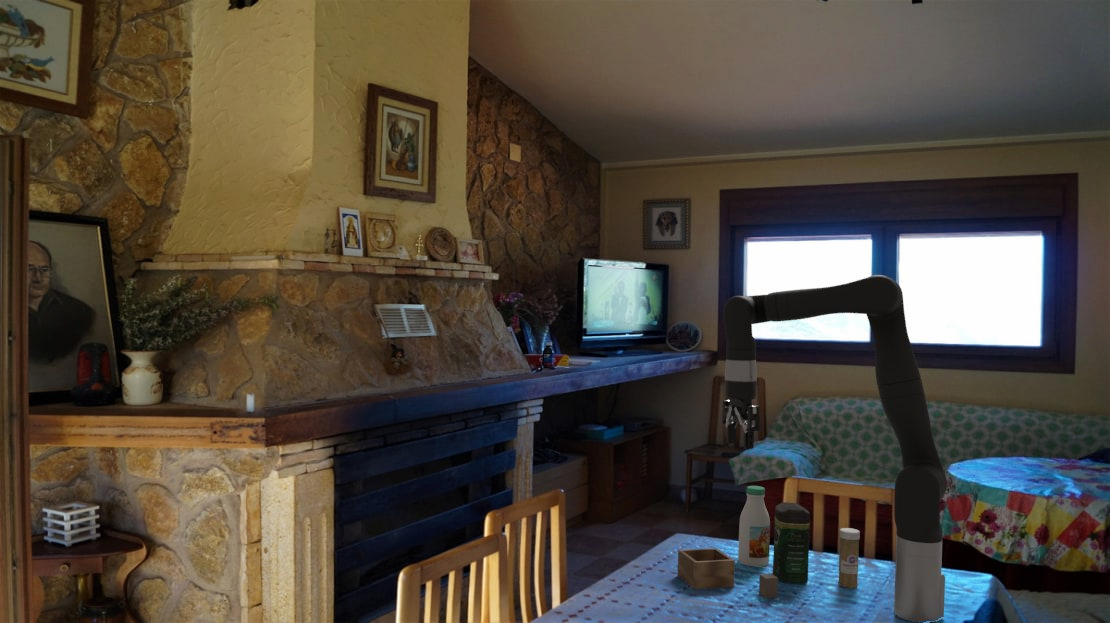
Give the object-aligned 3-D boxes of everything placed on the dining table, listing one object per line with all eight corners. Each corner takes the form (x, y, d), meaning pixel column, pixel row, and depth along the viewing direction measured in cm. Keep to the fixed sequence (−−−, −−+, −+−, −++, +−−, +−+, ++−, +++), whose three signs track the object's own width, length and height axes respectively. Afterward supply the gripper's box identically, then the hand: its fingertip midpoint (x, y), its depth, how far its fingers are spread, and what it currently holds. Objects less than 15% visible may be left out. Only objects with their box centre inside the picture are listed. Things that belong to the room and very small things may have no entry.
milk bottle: (736, 567, 219) (739, 488, 219) (739, 558, 226) (741, 482, 226) (768, 570, 217) (770, 491, 217) (769, 562, 224) (772, 485, 224)
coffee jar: (811, 587, 205) (814, 509, 205) (777, 586, 205) (780, 508, 205) (801, 574, 214) (804, 500, 214) (769, 573, 215) (772, 499, 215)
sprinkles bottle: (845, 589, 204) (847, 532, 204) (834, 583, 209) (835, 527, 208) (862, 587, 206) (863, 531, 205) (850, 581, 210) (851, 526, 210)
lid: (776, 592, 203) (777, 567, 203) (801, 608, 192) (802, 582, 192) (735, 595, 200) (736, 570, 200) (758, 611, 190) (759, 585, 190)
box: (715, 576, 211) (716, 548, 211) (733, 590, 202) (734, 560, 202) (677, 578, 209) (678, 550, 209) (694, 592, 199) (695, 562, 199)
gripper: (769, 381, 202) (769, 450, 202) (740, 376, 216) (739, 441, 216) (741, 381, 200) (740, 451, 200) (713, 376, 214) (712, 442, 214)
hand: (739, 445), depth 208 cm, fingers open, 8 cm apart
